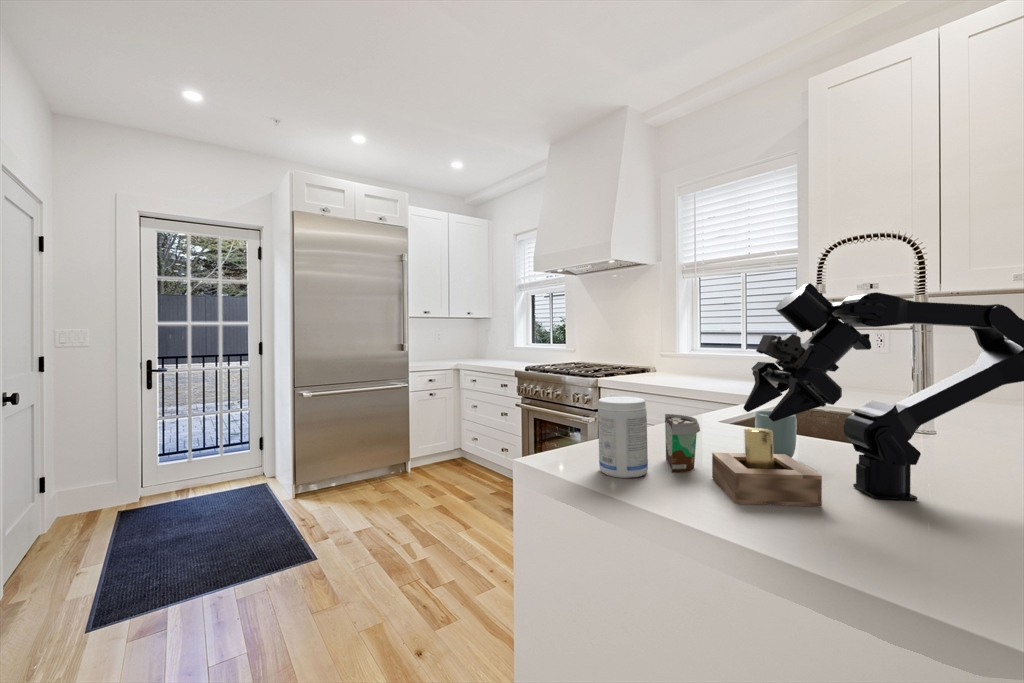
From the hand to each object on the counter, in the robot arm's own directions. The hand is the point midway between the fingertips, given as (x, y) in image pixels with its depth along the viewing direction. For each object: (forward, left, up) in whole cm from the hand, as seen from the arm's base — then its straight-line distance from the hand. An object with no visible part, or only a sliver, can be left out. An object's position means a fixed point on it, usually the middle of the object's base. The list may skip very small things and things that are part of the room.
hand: (757, 414), depth 80 cm
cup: (-12, -22, -14) cm, 29 cm away
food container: (+9, -14, -14) cm, 22 cm away
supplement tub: (+22, -9, -14) cm, 28 cm away
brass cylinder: (-1, 0, -13) cm, 13 cm away
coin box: (-1, 0, -13) cm, 14 cm away
